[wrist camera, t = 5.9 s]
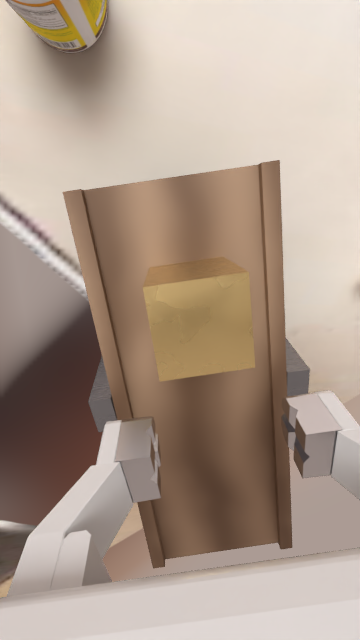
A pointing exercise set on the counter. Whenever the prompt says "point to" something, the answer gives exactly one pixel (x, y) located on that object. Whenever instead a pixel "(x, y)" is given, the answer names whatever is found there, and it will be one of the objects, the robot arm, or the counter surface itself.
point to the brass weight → (199, 318)
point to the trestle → (106, 411)
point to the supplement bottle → (64, 21)
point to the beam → (206, 390)
